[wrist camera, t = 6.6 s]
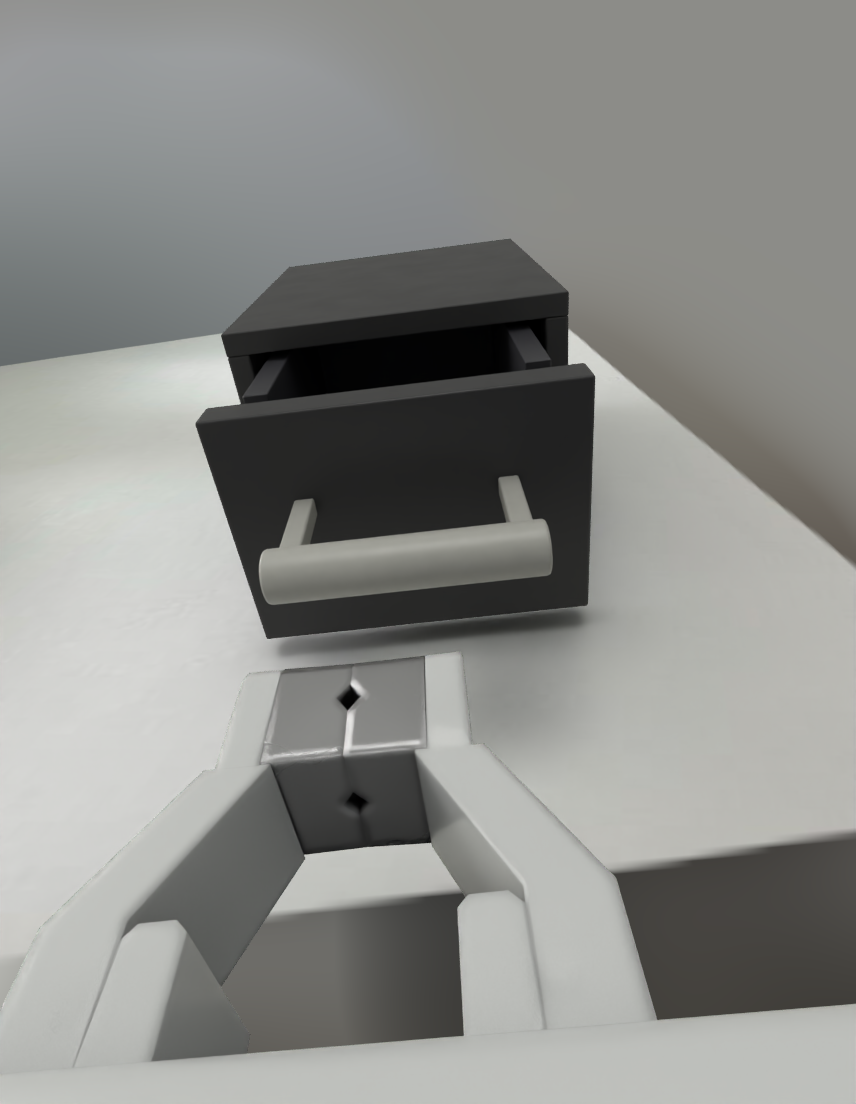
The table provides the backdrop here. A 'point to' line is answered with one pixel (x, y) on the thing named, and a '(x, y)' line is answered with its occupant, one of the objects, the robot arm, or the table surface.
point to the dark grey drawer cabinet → (399, 302)
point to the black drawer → (408, 480)
